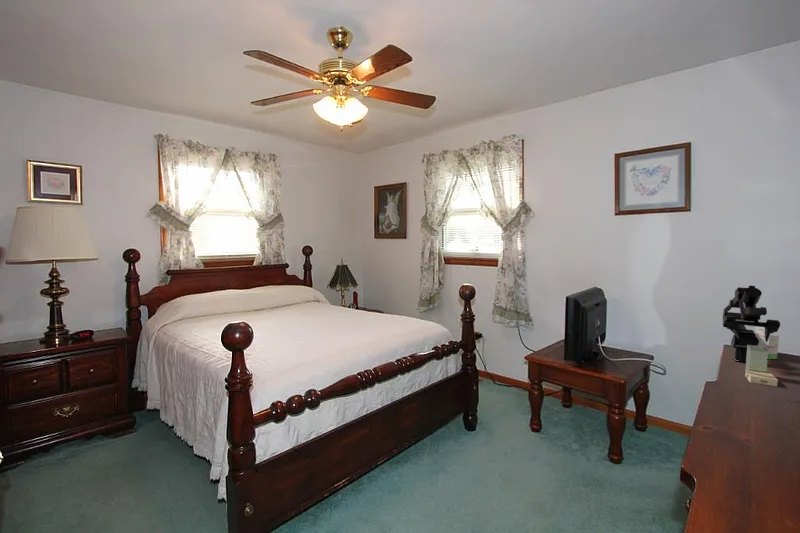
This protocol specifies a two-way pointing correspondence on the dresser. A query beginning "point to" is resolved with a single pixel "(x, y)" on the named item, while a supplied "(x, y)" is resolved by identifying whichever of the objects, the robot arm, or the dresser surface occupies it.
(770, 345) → the ink box
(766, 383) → the jewelry box
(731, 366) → the dresser surface
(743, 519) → the dresser surface
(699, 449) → the dresser surface
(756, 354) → the green lidded box
